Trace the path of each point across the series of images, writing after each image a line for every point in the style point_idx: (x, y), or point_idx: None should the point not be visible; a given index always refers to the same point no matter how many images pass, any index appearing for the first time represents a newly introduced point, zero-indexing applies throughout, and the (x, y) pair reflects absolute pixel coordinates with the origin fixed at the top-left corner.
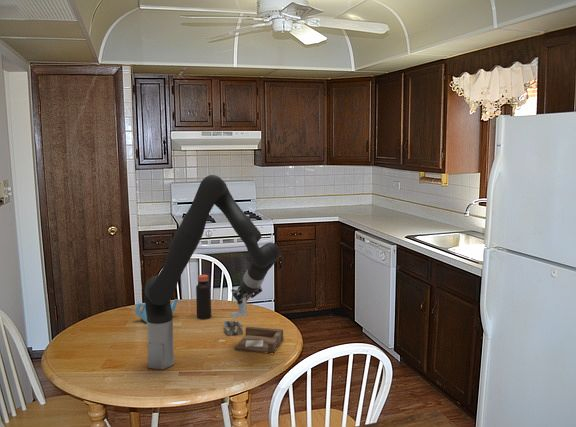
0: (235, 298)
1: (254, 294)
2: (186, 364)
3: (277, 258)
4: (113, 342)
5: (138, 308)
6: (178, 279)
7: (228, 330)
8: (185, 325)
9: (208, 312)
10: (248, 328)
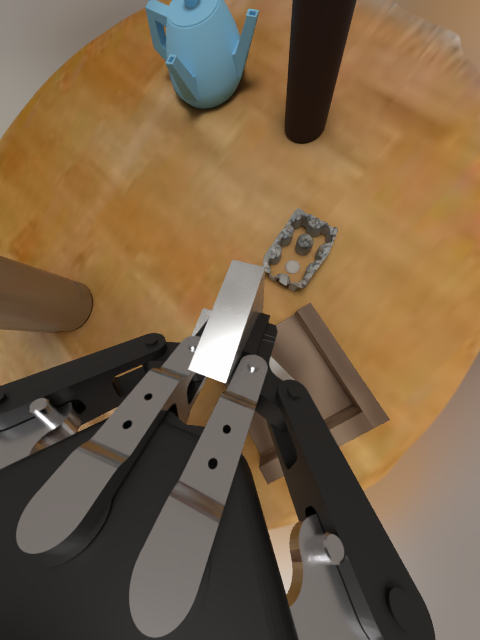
0: (119, 385)
1: (283, 466)
2: (97, 344)
3: None
4: (81, 155)
5: (154, 30)
6: None
7: (266, 269)
8: (232, 152)
9: (309, 123)
10: (302, 319)
